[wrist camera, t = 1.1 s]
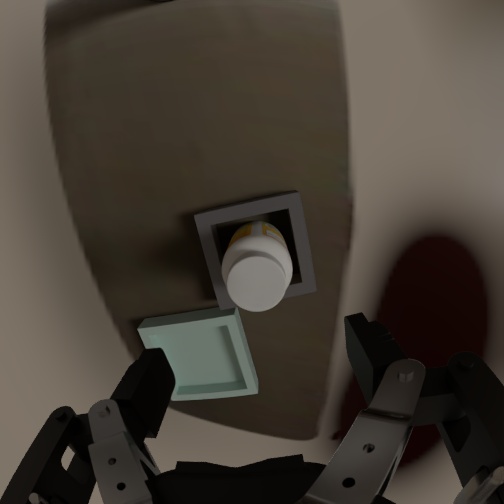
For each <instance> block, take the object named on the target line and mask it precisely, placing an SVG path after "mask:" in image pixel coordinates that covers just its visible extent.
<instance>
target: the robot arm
mask: <svg viewBox="0 0 504 504" xmlns="http://www.w3.org/2000/svg"><path fill="white" fill-rule="evenodd" d="M153 1H170V0H153ZM344 323H345V335H346V348H347V354H348V358H349V361H350V363H351V366H352V368H353V370H354V373H355V375H356V377H357V380H358V382H359V385H360V387H361V389H362V392H363V395H364V397H365V400H366V402H367V405H368V409H367V410H365V409H363V410H362V411H361V412H360V413H359V415H358V416H357V418H356V420H355V422H354V423H353V426H352V427H351V428H350V430H349V432H348V434H347V435H346V437H345V438H344V440H343V442H342V443H341V445H340V446H339V448H338V449H337V451H336V453H335V454H334V456H333V457H332V459H331V460H330V462H329V463H328V465H324V464H320V463H312V462H304V460H303V455H302V454H299V455H292V456H285V457H278V458H270V459H266V460H263V461H260V462H256V463H253V464H249V465H245V466H241V467H236V468H235V467H228V466H222V465H218V464H213V463H208V462H182V461H177V464H176V468H175V469H174V470H170V471H166V472H164V473H161V472H160V470H159V468H158V467H157V465H156V463H155V461H154V459H153V457H152V455H151V453H150V452H149V449H148V448H147V445H146V444H145V443H144V439H145V438H156V437H157V434H158V431H159V429H160V426H161V423H162V420H163V418H164V415H165V412H166V410H167V407H168V404H169V401H170V399H171V396H172V393H173V391H174V388H175V384H176V380H175V375H174V372H173V370H172V368H171V366H170V364H169V361H168V359H167V357H166V355H165V352H164V351H163V349H162V348H160V347H159V348H148V349H144V351H143V352H142V354H141V356H140V357H139V359H138V360H136V361H135V362H134V363H133V364H132V365H130V366H129V368H128V370H127V371H126V373H125V375H124V376H123V377H122V379H121V381H120V383H119V384H118V386H117V387H116V389H115V391H114V392H113V394H112V396H111V398H110V399H105V400H101V401H99V402H97V403H95V404H94V405H93V406H92V407H91V408H90V410H89V412H88V413H86V414H80V415H76V413H75V412H74V411H73V409H72V408H71V407H68V406H63V407H60V408H58V409H56V410H54V411H53V412H52V413H51V415H50V416H49V418H48V419H47V421H46V422H45V424H44V425H43V427H42V429H41V430H40V432H39V433H38V435H37V436H36V438H35V440H34V441H33V443H32V444H31V446H30V448H29V450H28V451H27V453H26V454H25V456H24V458H23V459H22V461H21V463H20V465H19V466H18V468H17V470H16V472H15V473H14V475H13V477H12V479H11V481H10V482H9V485H8V486H7V488H6V490H5V492H4V494H3V496H2V498H1V500H0V504H88V503H89V500H90V497H91V494H92V492H93V489H94V486H95V484H96V481H97V483H98V487H99V490H100V494H101V497H102V500H103V503H104V504H396V503H394V502H392V501H390V500H388V499H386V498H385V497H383V495H384V494H385V492H386V490H387V488H388V486H389V484H390V482H391V480H392V478H393V475H394V473H395V471H396V468H397V466H398V463H399V461H400V459H401V456H402V454H403V452H404V449H405V447H406V444H407V442H408V439H409V437H410V434H411V432H412V429H413V426H420V425H428V424H436V426H437V428H438V430H439V432H440V434H441V436H442V439H443V441H444V443H445V445H446V448H447V450H448V452H449V455H450V457H451V459H452V462H453V464H454V467H455V469H456V471H457V474H458V477H459V479H460V482H461V484H462V487H463V489H462V490H461V492H460V493H459V494H458V495H457V497H456V499H455V501H454V504H504V386H503V384H502V383H501V382H500V380H499V379H498V378H497V377H496V375H495V374H494V373H493V372H492V370H491V369H490V368H489V367H488V366H487V364H486V363H485V362H484V361H483V360H482V358H481V357H480V356H478V355H477V354H475V353H472V352H459V353H457V354H454V355H453V356H452V357H451V358H450V359H449V361H448V365H447V366H444V367H437V368H425V367H424V366H423V365H422V363H420V362H418V361H416V360H413V359H408V357H407V356H406V354H405V353H404V352H403V350H402V349H401V347H400V346H399V344H398V343H397V342H396V340H394V337H393V336H392V335H391V334H390V332H389V331H388V329H387V328H386V326H385V325H383V324H381V323H379V322H378V321H372V322H368V321H367V319H366V318H365V316H364V315H363V313H362V312H361V313H357V314H353V315H349V316H345V318H344ZM67 446H69V447H70V448H71V449H72V451H73V452H74V453H75V455H74V456H73V458H72V461H71V463H70V465H69V467H68V469H67V471H66V470H65V469H64V468H63V466H62V463H61V458H62V456H63V454H64V452H65V450H66V448H67Z"/></svg>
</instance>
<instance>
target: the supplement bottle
mask: <svg viewBox="0 0 504 504" xmlns="http://www.w3.org/2000/svg"><path fill="white" fill-rule="evenodd" d="M292 270H293V268H292V261H291V258H290V255H289V252H288V249H287V246H286V243H285V240H284V238H283V236H282V234H281V233H280V231H279V230H278V229H277V228H276V227H274V226H273V225H271V224H269V223H267V222H263V221H253V222H249V223H246V224H244V225H243V226H241V227H240V228H239V229H238V230H237V231H236V232H235V233H234V235H233V237H232V239H231V241H230V243H229V246H228V248H227V251H226V253H225V255H224V258H223V262H222V277H223V280H224V283H225V285H226V286H227V291H228V294H229V296H230V298H231V299H232V300H233V302H234V303H235V304H237V305H238V306H239V307H241V308H243V309H245V310H249V311H255V312H259V311H265V310H268V309H270V308H272V307H274V306H275V305H276V304H278V303H279V302H280V300H281V299H282V298H283V296H284V294H285V290H286V289H287V287H288V286H289V284H290V281H291V278H292Z"/></svg>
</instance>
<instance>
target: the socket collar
mask: <svg viewBox="0 0 504 504" xmlns="http://www.w3.org/2000/svg"><path fill="white" fill-rule="evenodd" d="M283 209H287V212H288V217H289V222H290V227H291V232H292V237H293V243H294V248H295V253H296V259H297V264H298V270H299V273H298V274H293V275H292V278H291V281H290V284H289V286H288V287H287V289H286V290H285V294H284V296H283V298H288V297H293V296H298V295H302V294H307V293H312V292H316V291H317V289H316V283H315V276H314V270H313V264H312V258H311V252H310V246H309V240H308V235H307V229H306V224H305V218H304V213H303V208H302V203H301V198H300V193H299V192H298V191H296V190H295V191H290V192H285V193H280V194H275V195H270V196H265V197H261V198H256V199H251V200H247V201H242V202H238V203H234V204H229V205H225V206H221V207H216V208H212V209H208V210H204V211H200V212H198V213H197V214H195V215H194V218H195V222H196V226H197V229H198V233H199V237H200V241H201V244H202V248H203V252H204V255H205V259H206V263H207V266H208V270H209V273H210V277H211V280H212V284H213V287H214V291H215V294H216V297H217V301H218V304H219V307H220V310H224V309H230V308H236V307H239V306H238V305H237V304H235V303H234V302H233V300H232V299H231V298H230V296H229V294H228V291H227V286H226V285H225V283H224V280H223V277H222V262H223V258H224V256H223V252H222V248H221V244H220V240H219V237H218V233H217V229H216V225H215V224H218V223H223V222H227V221H232V220H236V219H241V218H245V217H250V216H254V215H259V214H264V213H268V212H273V211H278V210H283ZM283 298H282V299H283Z"/></svg>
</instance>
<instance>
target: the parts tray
mask: <svg viewBox="0 0 504 504" xmlns="http://www.w3.org/2000/svg"><path fill="white" fill-rule="evenodd" d="M138 332H139V334H140V336H141V339H142V341H143V343H144V345H145V348H146V349H148V348H159V347H160V348H162V349H163V351H164V352H165V355H166V357H167V359H168V361H169V364H170V366H171V368H172V370H173V372H174V375H175V380H176V384H175V388H174V391H173V393H172V396H171V399H172V401H177V400H198V399H212V398H223V397H233V396H242V395H250V394H258V378H257V375H256V371H255V368H254V364H253V361H252V358H251V354H250V351H249V347H248V344H247V340H246V337H245V333H244V330H243V326H242V323H241V319H240V315H239V312H238V308H237V307H236V308H230V309H224V310H220V307H216V308H210V309H204V310H198V311H192V312H186V313H180V314H173V315H166V316H159V317H152V318H145V319H144V320H143V322H142V323H141V324H140V326H139V327H138Z"/></svg>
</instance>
